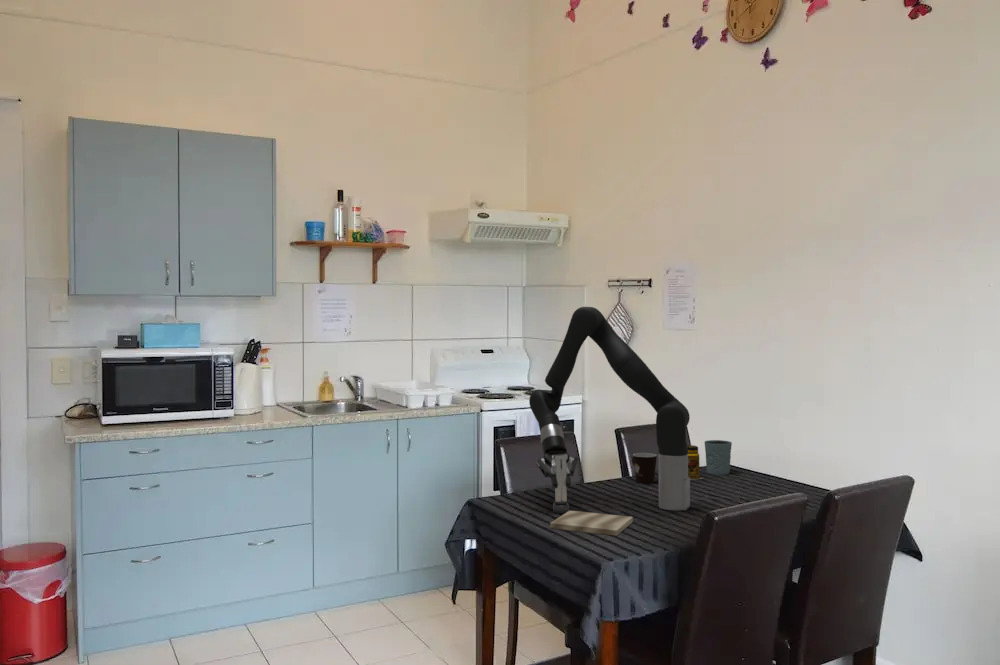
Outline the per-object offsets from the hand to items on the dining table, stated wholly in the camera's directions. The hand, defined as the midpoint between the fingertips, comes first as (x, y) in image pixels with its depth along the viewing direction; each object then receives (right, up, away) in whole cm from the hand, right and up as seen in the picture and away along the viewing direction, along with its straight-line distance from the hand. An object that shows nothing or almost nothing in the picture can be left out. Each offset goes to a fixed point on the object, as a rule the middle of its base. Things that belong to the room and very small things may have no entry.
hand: (562, 486), depth 248 cm
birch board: (+8, -9, -14) cm, 18 cm away
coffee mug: (+34, -7, +46) cm, 57 cm away
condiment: (+52, -7, +51) cm, 74 cm away
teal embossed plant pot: (+65, -6, +60) cm, 88 cm away
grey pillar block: (0, -8, +2) cm, 9 cm away
